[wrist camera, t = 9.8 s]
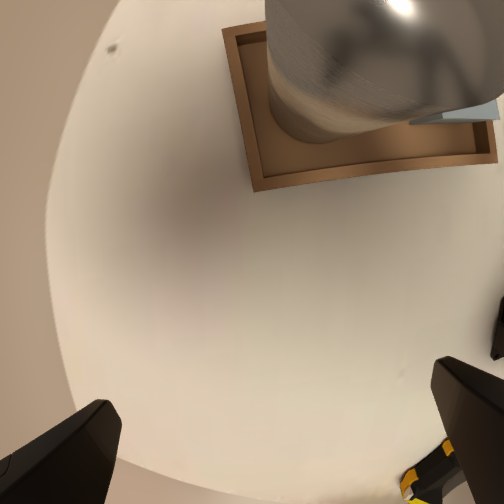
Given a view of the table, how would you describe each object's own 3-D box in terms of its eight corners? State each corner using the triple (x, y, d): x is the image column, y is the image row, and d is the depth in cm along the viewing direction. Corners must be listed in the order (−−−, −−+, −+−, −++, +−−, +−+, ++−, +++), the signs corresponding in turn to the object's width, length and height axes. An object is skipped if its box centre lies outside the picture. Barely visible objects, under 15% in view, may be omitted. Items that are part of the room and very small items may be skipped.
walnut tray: (443, 39, 15) (467, 24, 11) (469, 160, 17) (497, 163, 14) (229, 49, 16) (221, 28, 13) (256, 186, 19) (253, 192, 15)
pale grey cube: (448, 63, 14) (483, 48, 10) (461, 123, 15) (499, 119, 11) (395, 61, 14) (423, 40, 10) (409, 125, 15) (443, 118, 12)
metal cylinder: (348, 55, 14) (462, -83, 2) (366, 138, 16) (545, 114, 3) (260, 65, 15) (237, -106, 3) (278, 150, 16) (302, 117, 4)
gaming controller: (504, 424, 25) (472, 409, 24) (521, 451, 19) (493, 443, 18) (422, 493, 29) (378, 487, 28) (431, 521, 23) (386, 521, 22)
